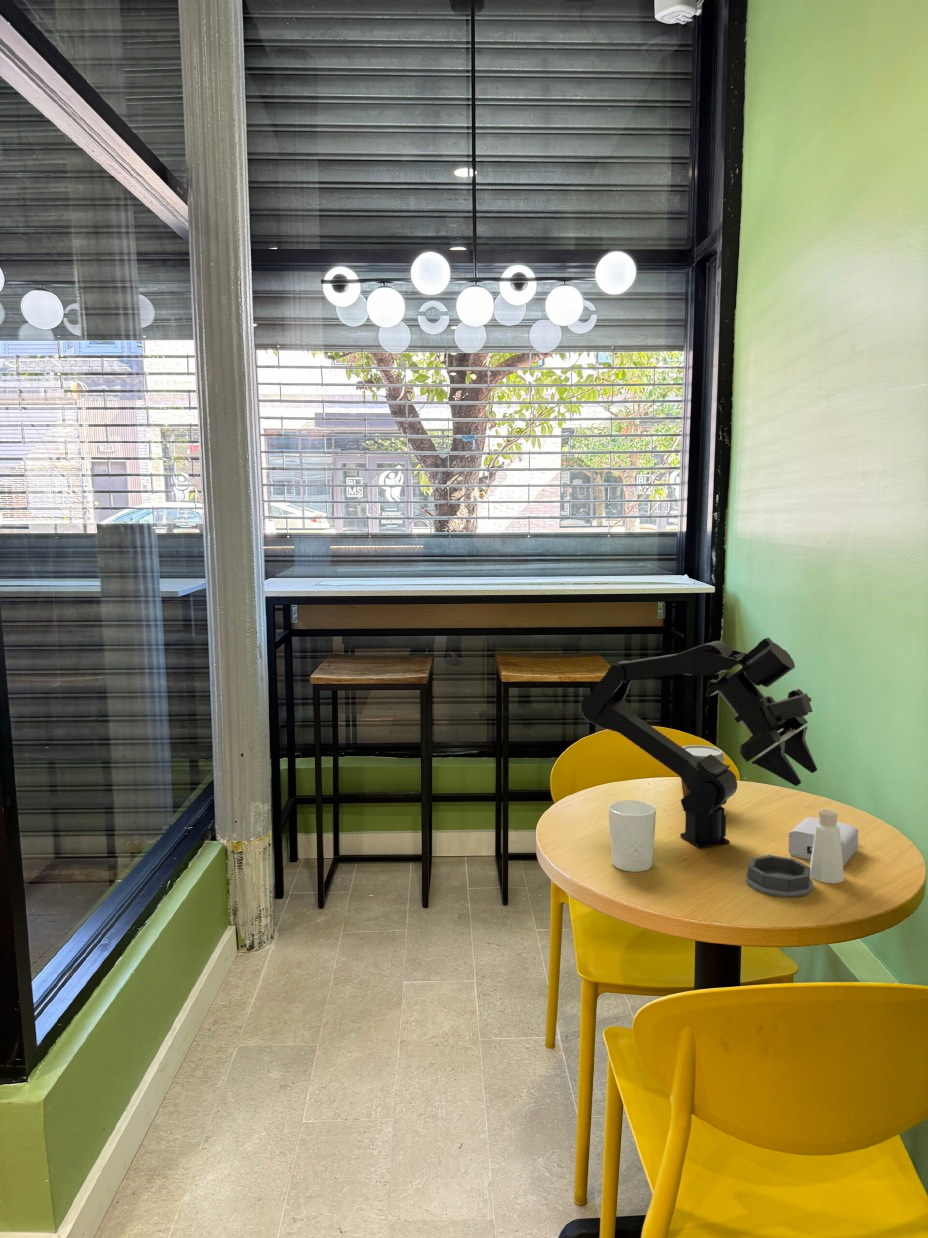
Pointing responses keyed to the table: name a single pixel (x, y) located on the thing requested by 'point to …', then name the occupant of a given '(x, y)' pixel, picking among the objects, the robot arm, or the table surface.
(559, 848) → the table surface
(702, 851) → the table surface
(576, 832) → the table surface
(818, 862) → the pepper shaker
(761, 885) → the grey octagonal tray
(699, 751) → the disposable coffee cup
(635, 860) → the white cup
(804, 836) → the charger
